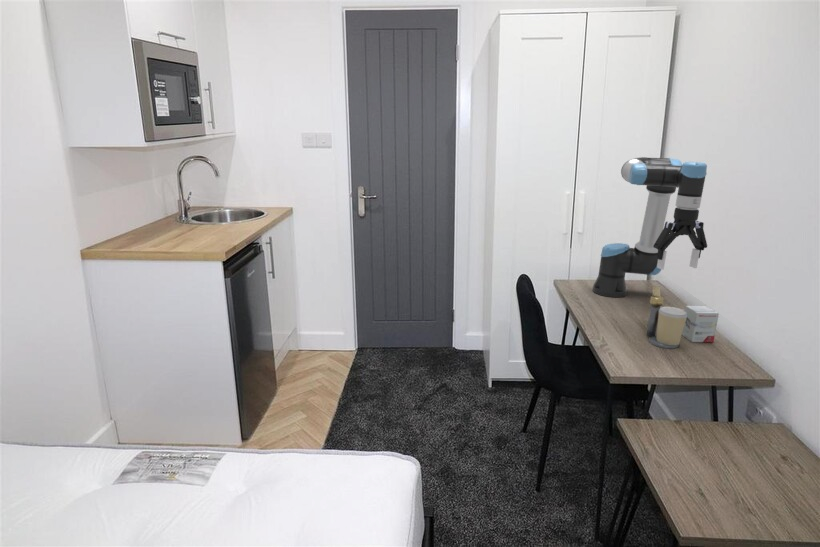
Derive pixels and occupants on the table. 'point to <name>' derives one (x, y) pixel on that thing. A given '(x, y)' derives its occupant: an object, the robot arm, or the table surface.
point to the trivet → (658, 344)
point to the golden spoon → (656, 297)
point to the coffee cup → (670, 325)
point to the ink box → (700, 324)
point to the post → (653, 321)
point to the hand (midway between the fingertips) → (676, 267)
